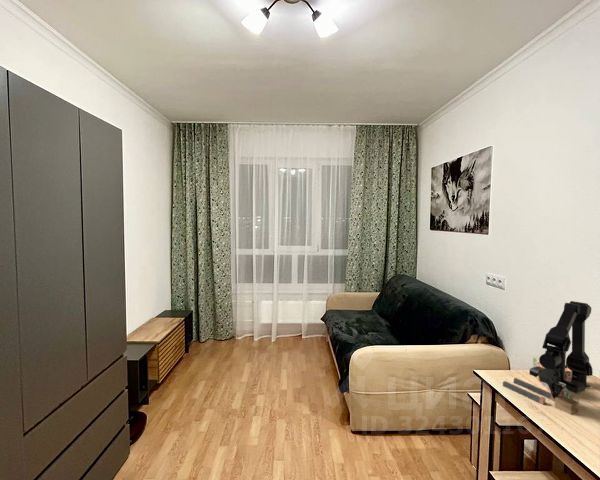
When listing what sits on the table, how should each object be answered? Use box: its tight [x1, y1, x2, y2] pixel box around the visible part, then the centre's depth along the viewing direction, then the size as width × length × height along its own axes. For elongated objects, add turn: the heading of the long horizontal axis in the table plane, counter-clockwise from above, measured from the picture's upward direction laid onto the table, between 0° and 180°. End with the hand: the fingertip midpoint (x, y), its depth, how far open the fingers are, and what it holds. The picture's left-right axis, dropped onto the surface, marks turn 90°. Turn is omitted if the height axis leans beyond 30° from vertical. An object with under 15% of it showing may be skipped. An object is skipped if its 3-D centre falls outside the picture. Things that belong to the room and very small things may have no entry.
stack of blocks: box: [532, 357, 572, 399], centre depth 164 cm, size 21×6×12 cm, turn 169°
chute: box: [502, 377, 555, 405], centre depth 158 cm, size 9×18×2 cm, turn 24°
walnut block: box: [554, 395, 579, 415], centre depth 144 cm, size 5×6×4 cm
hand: (554, 398), depth 148 cm, fingers closed
